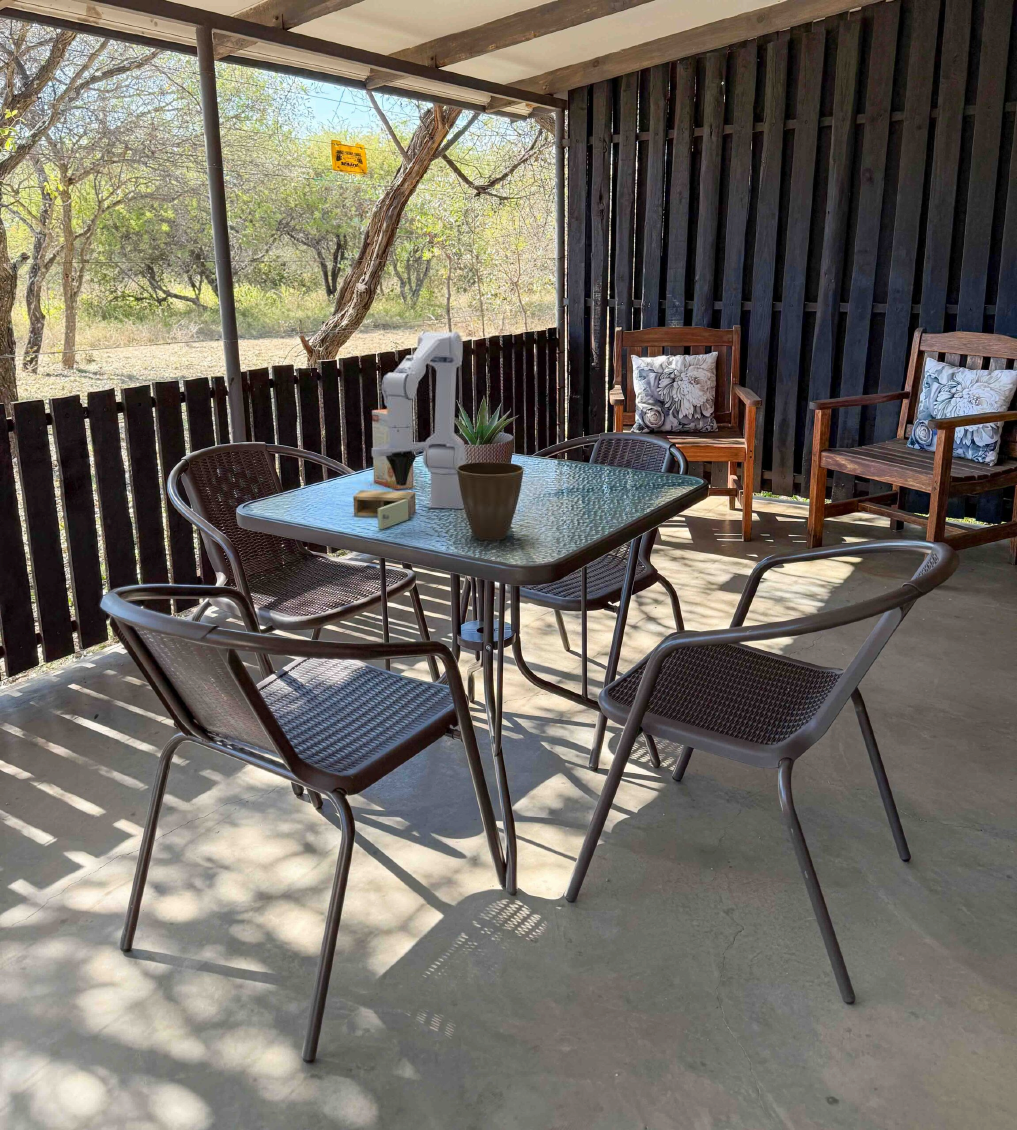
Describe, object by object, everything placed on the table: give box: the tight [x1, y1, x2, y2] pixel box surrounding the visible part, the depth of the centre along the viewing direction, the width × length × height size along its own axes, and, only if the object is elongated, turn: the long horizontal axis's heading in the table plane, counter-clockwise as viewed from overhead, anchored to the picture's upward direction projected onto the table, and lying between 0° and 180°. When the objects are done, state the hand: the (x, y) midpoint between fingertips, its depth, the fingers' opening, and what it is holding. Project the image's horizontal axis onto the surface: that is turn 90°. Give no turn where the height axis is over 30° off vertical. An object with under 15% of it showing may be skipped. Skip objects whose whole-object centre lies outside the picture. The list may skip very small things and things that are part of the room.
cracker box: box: [371, 408, 414, 491], centre depth 269 cm, size 14×6×21 cm, turn 34°
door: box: [377, 498, 412, 530], centre depth 227 cm, size 13×2×5 cm, turn 153°
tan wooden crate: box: [352, 489, 417, 518], centre depth 237 cm, size 14×7×5 cm, turn 83°
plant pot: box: [457, 461, 525, 542], centre depth 215 cm, size 15×15×16 cm
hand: (401, 484), depth 221 cm, fingers closed
